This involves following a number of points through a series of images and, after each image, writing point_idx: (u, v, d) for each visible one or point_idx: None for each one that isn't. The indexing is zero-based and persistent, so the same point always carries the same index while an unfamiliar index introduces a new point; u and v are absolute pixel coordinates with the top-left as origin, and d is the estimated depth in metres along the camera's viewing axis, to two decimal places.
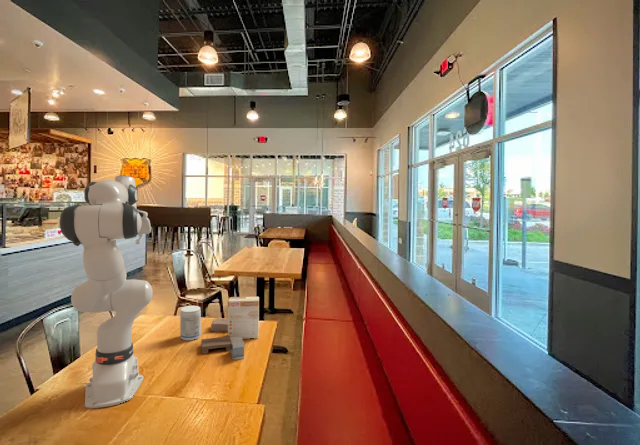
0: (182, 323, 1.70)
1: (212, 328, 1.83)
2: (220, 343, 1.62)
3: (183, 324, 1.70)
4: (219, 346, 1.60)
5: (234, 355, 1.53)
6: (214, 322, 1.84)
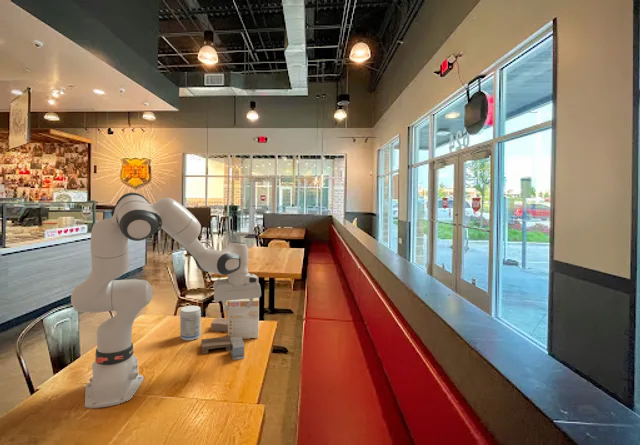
0: (182, 323, 1.70)
1: (212, 328, 1.83)
2: (220, 343, 1.62)
3: (183, 324, 1.70)
4: (219, 346, 1.60)
5: (234, 355, 1.53)
6: (214, 322, 1.84)
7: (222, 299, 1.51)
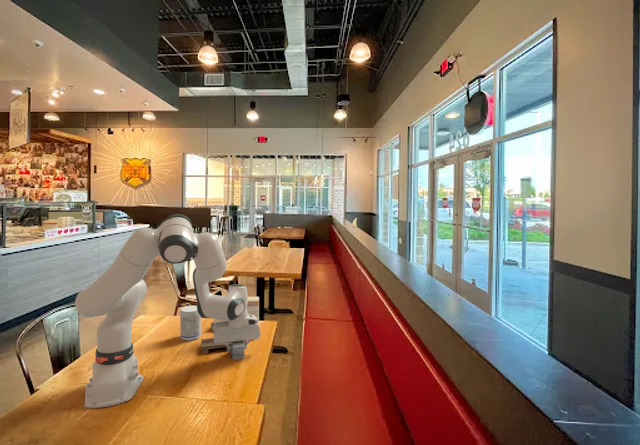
0: (182, 323, 1.70)
1: (212, 327, 1.84)
2: (220, 343, 1.62)
3: (183, 324, 1.70)
4: (219, 346, 1.60)
5: (234, 355, 1.53)
6: (214, 321, 1.85)
7: (222, 342, 1.53)
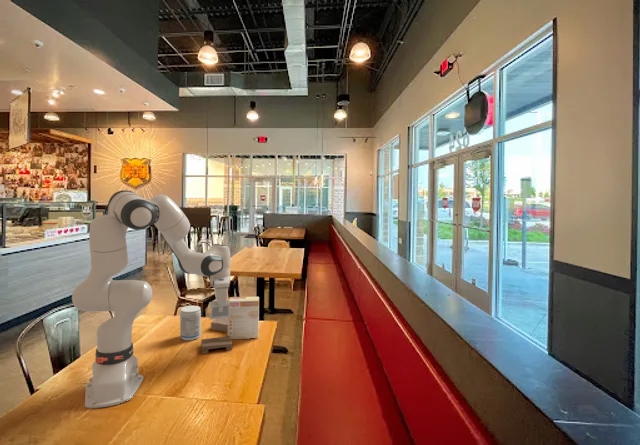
0: (182, 323, 1.70)
1: (211, 327, 1.84)
2: (220, 343, 1.62)
3: (183, 324, 1.70)
4: (219, 346, 1.60)
5: None
6: (214, 321, 1.86)
7: None
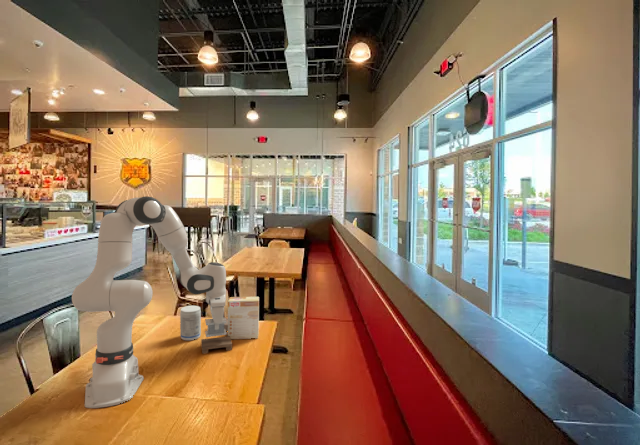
0: (182, 323, 1.70)
1: None
2: (220, 343, 1.62)
3: (183, 324, 1.70)
4: (219, 346, 1.60)
5: None
6: None
7: None
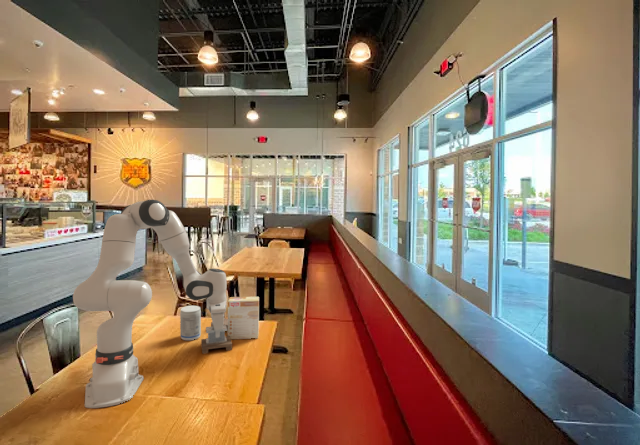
0: (182, 323, 1.70)
1: None
2: (220, 343, 1.62)
3: (183, 324, 1.70)
4: (219, 346, 1.60)
5: (208, 337, 1.64)
6: None
7: (211, 317, 1.68)
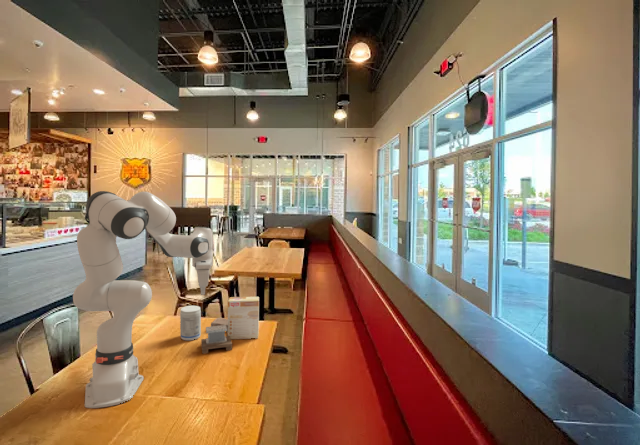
0: (182, 323, 1.70)
1: None
2: (220, 343, 1.62)
3: (183, 324, 1.70)
4: (219, 346, 1.60)
5: (208, 337, 1.64)
6: (214, 322, 1.85)
7: None
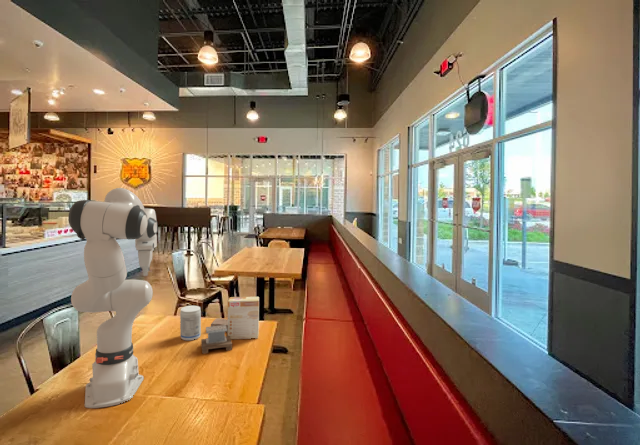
0: (182, 323, 1.70)
1: None
2: (220, 343, 1.62)
3: (183, 324, 1.70)
4: (219, 346, 1.60)
5: (208, 337, 1.64)
6: (214, 322, 1.84)
7: None
